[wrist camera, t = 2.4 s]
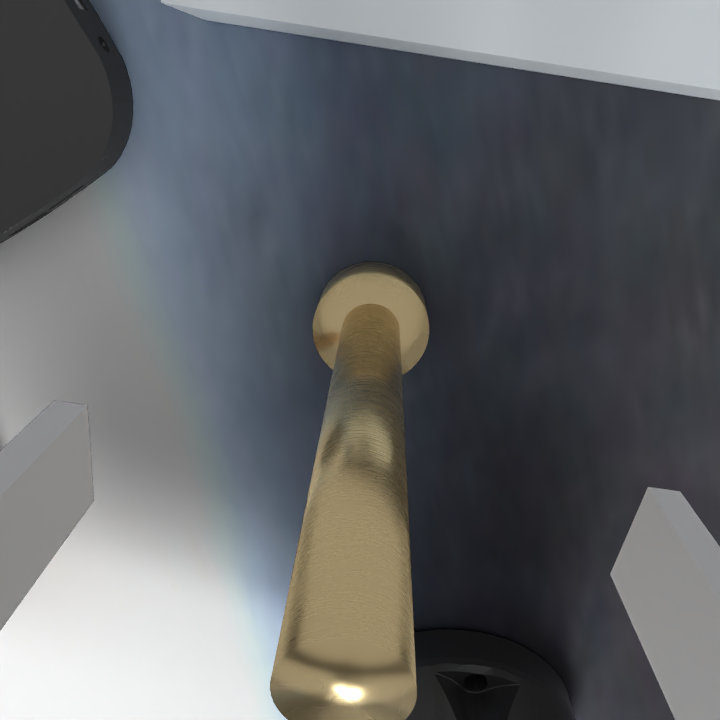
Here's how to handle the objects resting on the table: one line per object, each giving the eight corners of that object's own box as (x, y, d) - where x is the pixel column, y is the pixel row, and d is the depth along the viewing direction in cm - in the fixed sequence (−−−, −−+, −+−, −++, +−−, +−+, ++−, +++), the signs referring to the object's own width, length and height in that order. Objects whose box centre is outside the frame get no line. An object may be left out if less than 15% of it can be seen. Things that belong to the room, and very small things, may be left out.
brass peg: (361, 382, 27) (319, 812, 11) (295, 303, 26) (136, 664, 10) (447, 325, 26) (547, 720, 10) (384, 239, 25) (374, 530, 8)
